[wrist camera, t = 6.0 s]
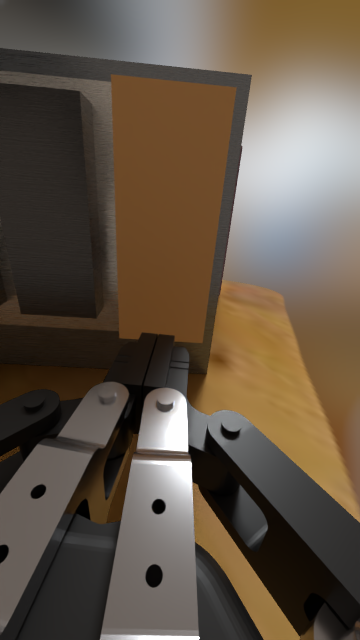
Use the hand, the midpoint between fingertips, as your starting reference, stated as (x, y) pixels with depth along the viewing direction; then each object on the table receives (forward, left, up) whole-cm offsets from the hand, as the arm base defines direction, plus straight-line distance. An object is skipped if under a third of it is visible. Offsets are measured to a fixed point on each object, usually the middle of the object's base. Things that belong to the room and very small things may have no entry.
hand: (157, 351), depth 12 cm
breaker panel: (-7, +10, -8) cm, 14 cm away
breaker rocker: (0, +5, -1) cm, 5 cm away
